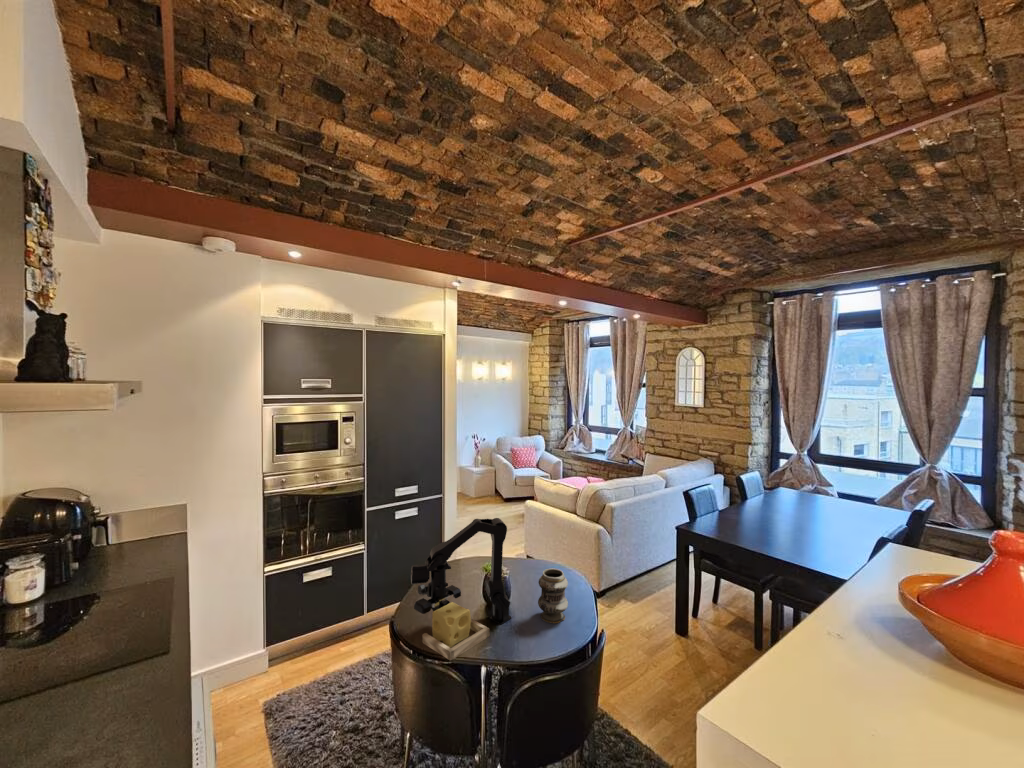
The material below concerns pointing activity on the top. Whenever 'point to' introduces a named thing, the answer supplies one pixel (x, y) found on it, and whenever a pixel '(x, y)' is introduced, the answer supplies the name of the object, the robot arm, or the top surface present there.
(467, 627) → the cheese
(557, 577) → the apothecary jar
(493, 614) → the robot arm
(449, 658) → the square wooden tray
